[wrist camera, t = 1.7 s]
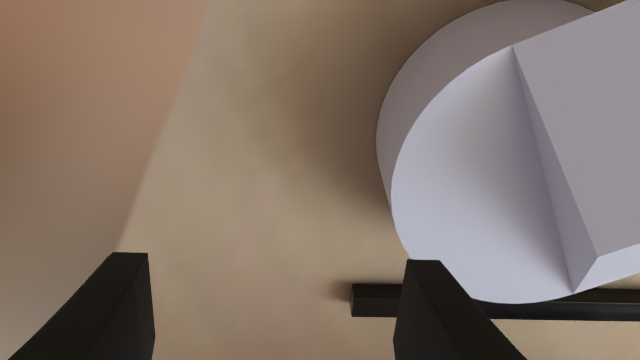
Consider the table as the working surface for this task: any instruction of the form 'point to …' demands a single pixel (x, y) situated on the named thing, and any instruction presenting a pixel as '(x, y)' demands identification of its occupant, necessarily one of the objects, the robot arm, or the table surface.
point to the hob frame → (513, 305)
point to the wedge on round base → (519, 149)
